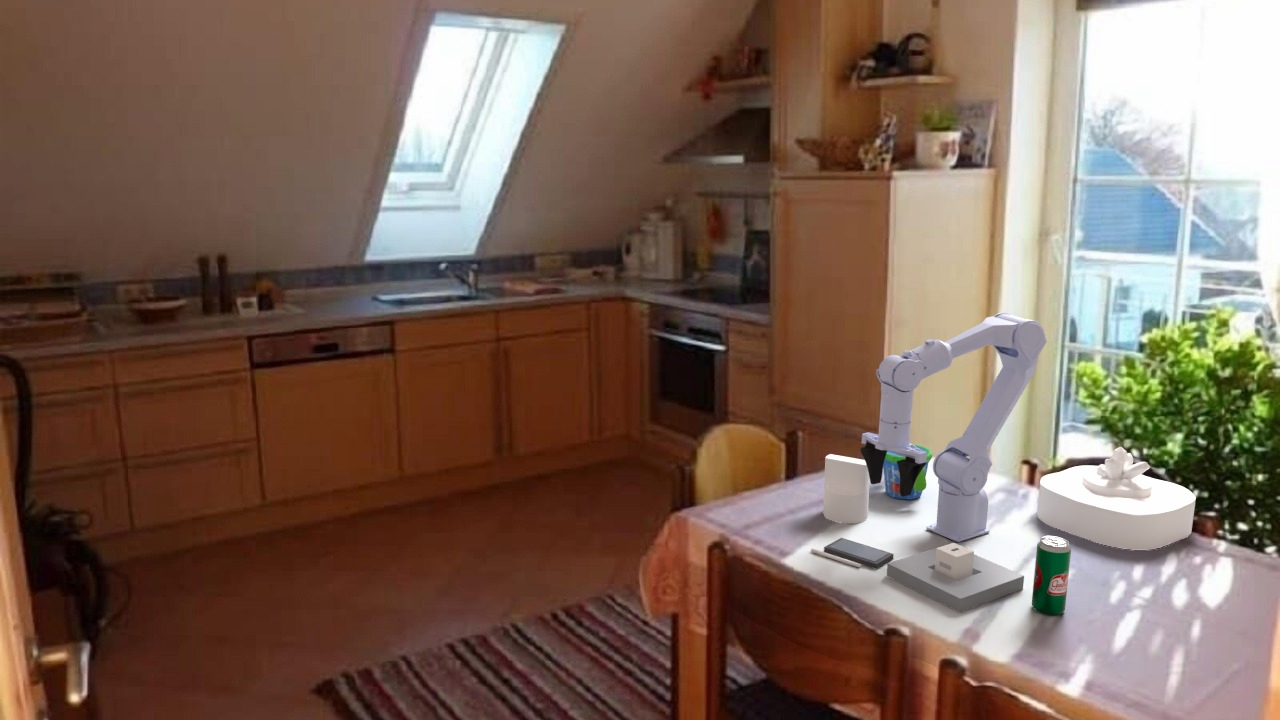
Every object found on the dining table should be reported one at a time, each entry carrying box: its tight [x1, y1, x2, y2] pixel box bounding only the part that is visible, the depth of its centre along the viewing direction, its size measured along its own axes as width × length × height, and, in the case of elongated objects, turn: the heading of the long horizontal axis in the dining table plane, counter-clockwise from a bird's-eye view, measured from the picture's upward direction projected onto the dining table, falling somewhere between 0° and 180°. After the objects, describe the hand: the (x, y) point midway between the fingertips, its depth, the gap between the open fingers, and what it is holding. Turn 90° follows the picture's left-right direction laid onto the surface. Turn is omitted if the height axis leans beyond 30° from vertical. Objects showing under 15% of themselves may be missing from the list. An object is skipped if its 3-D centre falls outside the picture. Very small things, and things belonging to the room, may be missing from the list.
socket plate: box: [886, 543, 1025, 613], centre depth 168 cm, size 16×16×2 cm
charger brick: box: [935, 542, 975, 581], centre depth 167 cm, size 4×4×6 cm
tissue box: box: [1036, 446, 1197, 549], centre depth 193 cm, size 25×25×16 cm
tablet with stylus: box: [810, 537, 894, 570], centre depth 179 cm, size 8×13×1 cm, turn 47°
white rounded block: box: [822, 453, 871, 524], centre depth 197 cm, size 9×9×12 cm
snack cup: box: [883, 443, 933, 501], centre depth 209 cm, size 16×10×10 cm
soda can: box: [1031, 535, 1072, 616], centre depth 157 cm, size 5×5×12 cm
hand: (890, 489), depth 183 cm, fingers open, 7 cm apart
